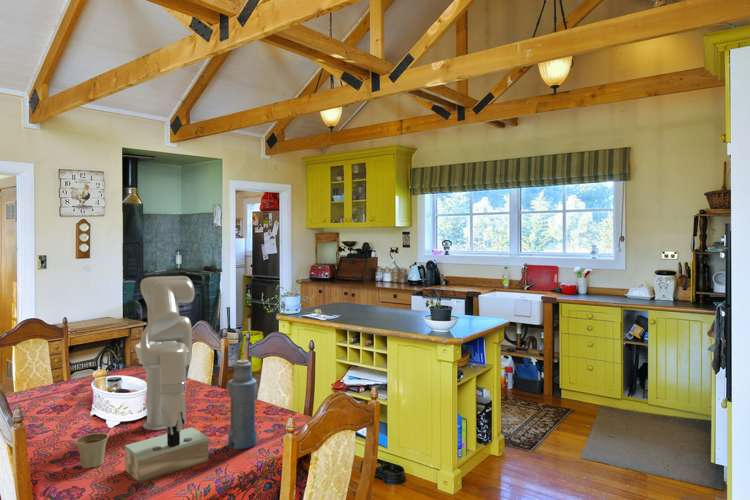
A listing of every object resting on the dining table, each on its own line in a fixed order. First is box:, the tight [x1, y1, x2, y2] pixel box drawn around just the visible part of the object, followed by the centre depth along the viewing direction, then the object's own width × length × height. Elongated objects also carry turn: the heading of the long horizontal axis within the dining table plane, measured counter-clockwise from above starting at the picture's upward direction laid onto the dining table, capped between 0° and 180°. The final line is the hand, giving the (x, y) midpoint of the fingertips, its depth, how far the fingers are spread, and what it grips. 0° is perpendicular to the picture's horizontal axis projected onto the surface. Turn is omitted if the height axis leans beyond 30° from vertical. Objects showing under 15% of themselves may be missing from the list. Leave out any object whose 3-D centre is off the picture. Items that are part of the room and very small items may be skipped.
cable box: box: [124, 440, 210, 484], centre depth 166 cm, size 12×22×7 cm, turn 135°
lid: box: [124, 427, 210, 460], centre depth 165 cm, size 12×22×1 cm, turn 135°
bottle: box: [227, 359, 258, 450], centre depth 182 cm, size 10×10×30 cm
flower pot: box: [74, 432, 110, 469], centre depth 167 cm, size 9×9×9 cm
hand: (173, 445), depth 162 cm, fingers closed
